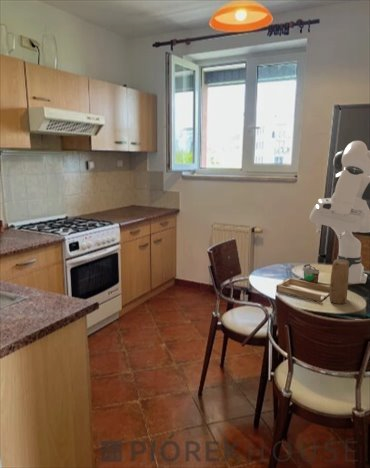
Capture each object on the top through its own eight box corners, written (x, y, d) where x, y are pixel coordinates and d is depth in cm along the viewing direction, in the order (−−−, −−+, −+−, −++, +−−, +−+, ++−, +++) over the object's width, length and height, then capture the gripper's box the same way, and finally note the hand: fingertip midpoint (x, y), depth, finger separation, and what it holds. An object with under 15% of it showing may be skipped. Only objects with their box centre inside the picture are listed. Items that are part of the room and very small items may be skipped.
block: (345, 305, 163) (348, 264, 159) (328, 303, 167) (330, 262, 163) (347, 298, 172) (351, 258, 168) (331, 295, 176) (334, 256, 172)
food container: (298, 280, 198) (299, 263, 196) (308, 280, 199) (309, 263, 197) (307, 288, 186) (308, 270, 184) (318, 288, 187) (319, 269, 185)
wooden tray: (289, 284, 194) (289, 277, 193) (331, 293, 179) (331, 286, 178) (276, 291, 182) (276, 285, 182) (319, 302, 168) (320, 295, 167)
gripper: (364, 209, 147) (351, 238, 153) (314, 198, 149) (304, 227, 155) (368, 214, 141) (355, 244, 147) (316, 202, 143) (306, 233, 149)
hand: (328, 235), depth 151 cm, fingers open, 8 cm apart
